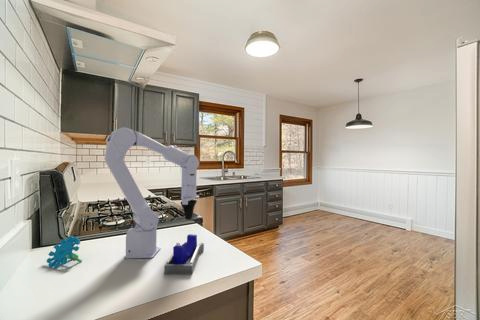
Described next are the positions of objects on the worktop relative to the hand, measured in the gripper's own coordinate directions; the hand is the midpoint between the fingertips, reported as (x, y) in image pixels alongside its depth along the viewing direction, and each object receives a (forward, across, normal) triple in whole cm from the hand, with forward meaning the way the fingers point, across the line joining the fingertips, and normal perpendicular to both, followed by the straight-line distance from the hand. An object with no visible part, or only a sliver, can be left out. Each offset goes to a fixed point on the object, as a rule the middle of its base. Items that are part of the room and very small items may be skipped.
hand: (188, 219), depth 89 cm
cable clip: (+10, -13, -1) cm, 16 cm away
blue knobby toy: (+10, -17, +36) cm, 41 cm away
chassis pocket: (+9, -16, -2) cm, 19 cm away
